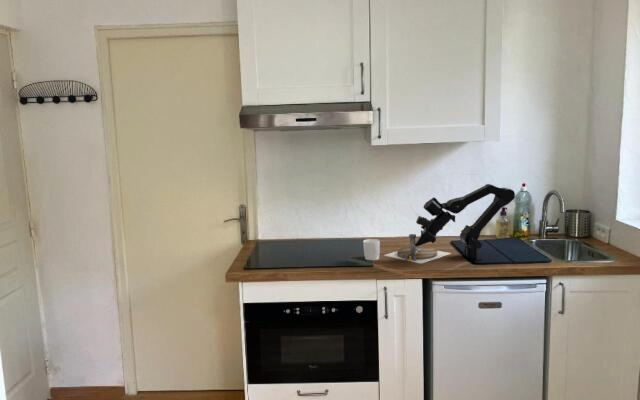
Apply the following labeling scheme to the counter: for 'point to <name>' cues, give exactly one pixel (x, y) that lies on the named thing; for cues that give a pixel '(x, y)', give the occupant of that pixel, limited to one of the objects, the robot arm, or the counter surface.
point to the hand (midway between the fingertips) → (415, 246)
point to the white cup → (371, 249)
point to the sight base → (395, 255)
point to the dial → (416, 250)
